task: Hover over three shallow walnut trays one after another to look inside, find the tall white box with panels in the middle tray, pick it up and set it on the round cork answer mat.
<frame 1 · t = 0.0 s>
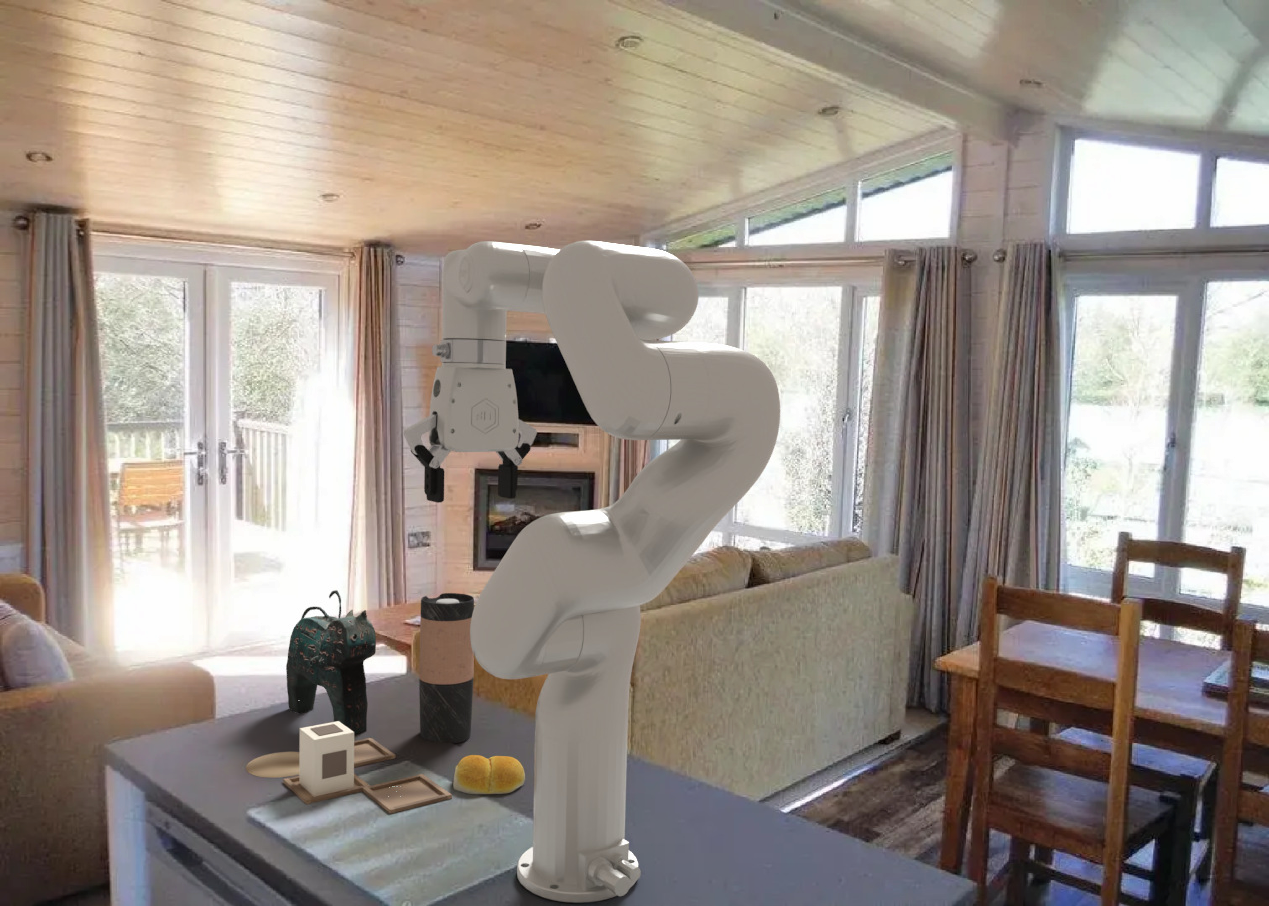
hand: (471, 499, 123), 37 cm above the kitchen counter, tool pointing down, fingers open, 9 cm apart
bread roll: (487, 788, 130), on the kitchen counter
answer mat: (282, 767, 134), on the kitchen counter
travel mug: (445, 737, 147), on the kitchen counter
tray a: (406, 797, 125), on the kitchen counter
tray b: (326, 788, 127), on the kitchen counter
white box with panels: (326, 785, 127), resting on tray b
tray c: (354, 757, 138), on the kitchen counter
ceramic cat: (324, 724, 151), on the kitchen counter
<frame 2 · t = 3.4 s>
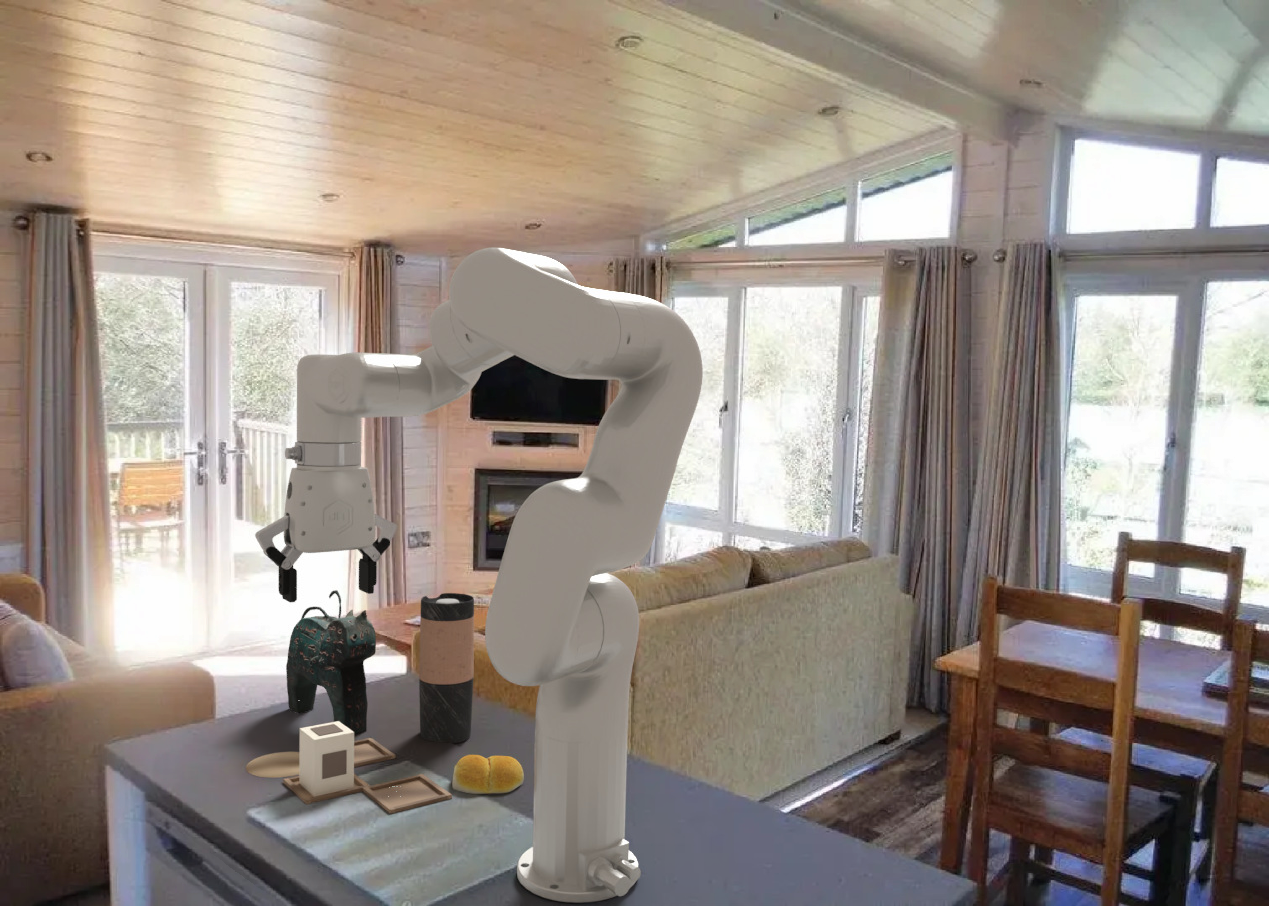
hand: (328, 595, 126), 24 cm above the kitchen counter, tool pointing down, fingers open, 9 cm apart
nothing on the kitchen counter moved.
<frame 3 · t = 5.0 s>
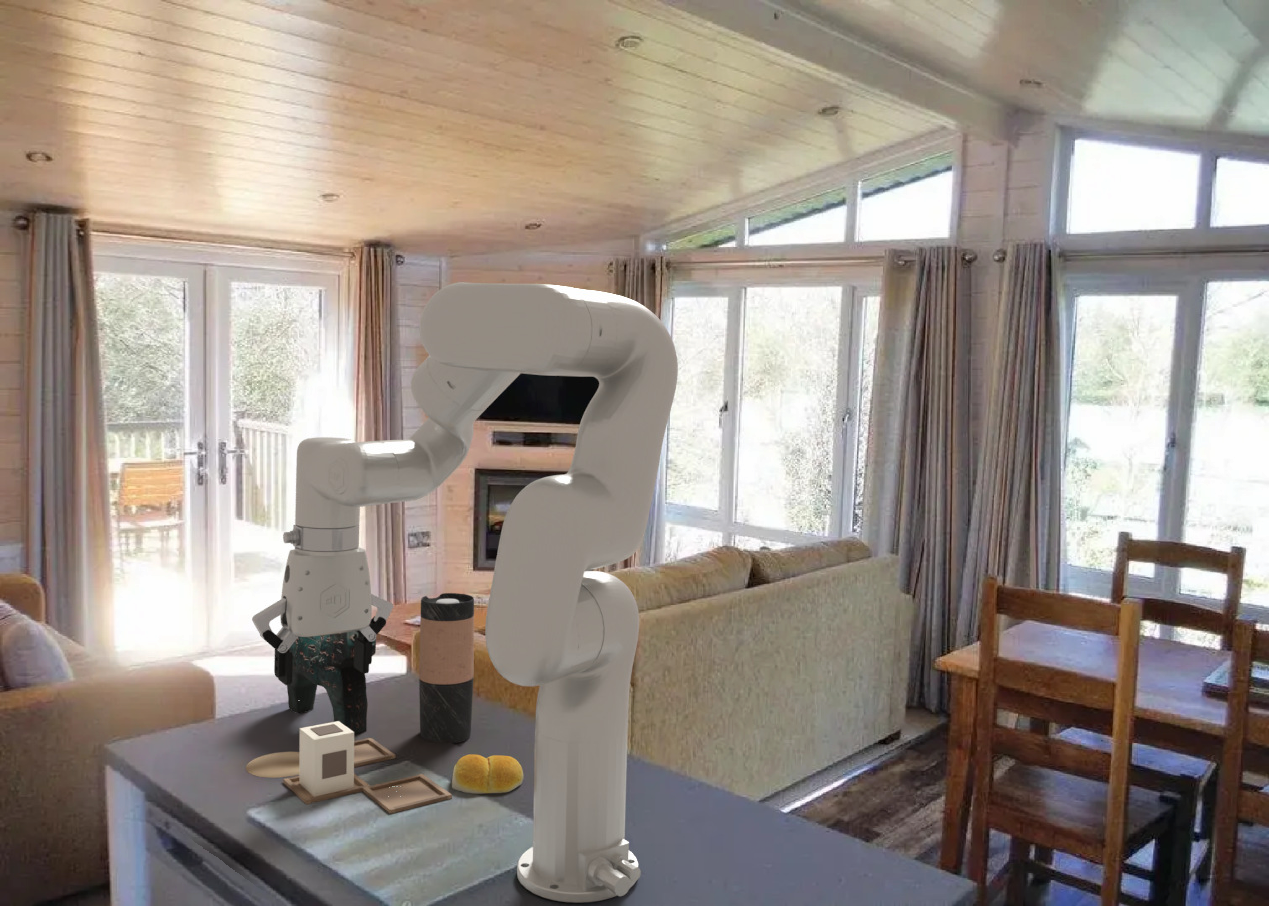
hand: (323, 676, 126), 14 cm above the kitchen counter, tool pointing down, fingers open, 9 cm apart
nothing on the kitchen counter moved.
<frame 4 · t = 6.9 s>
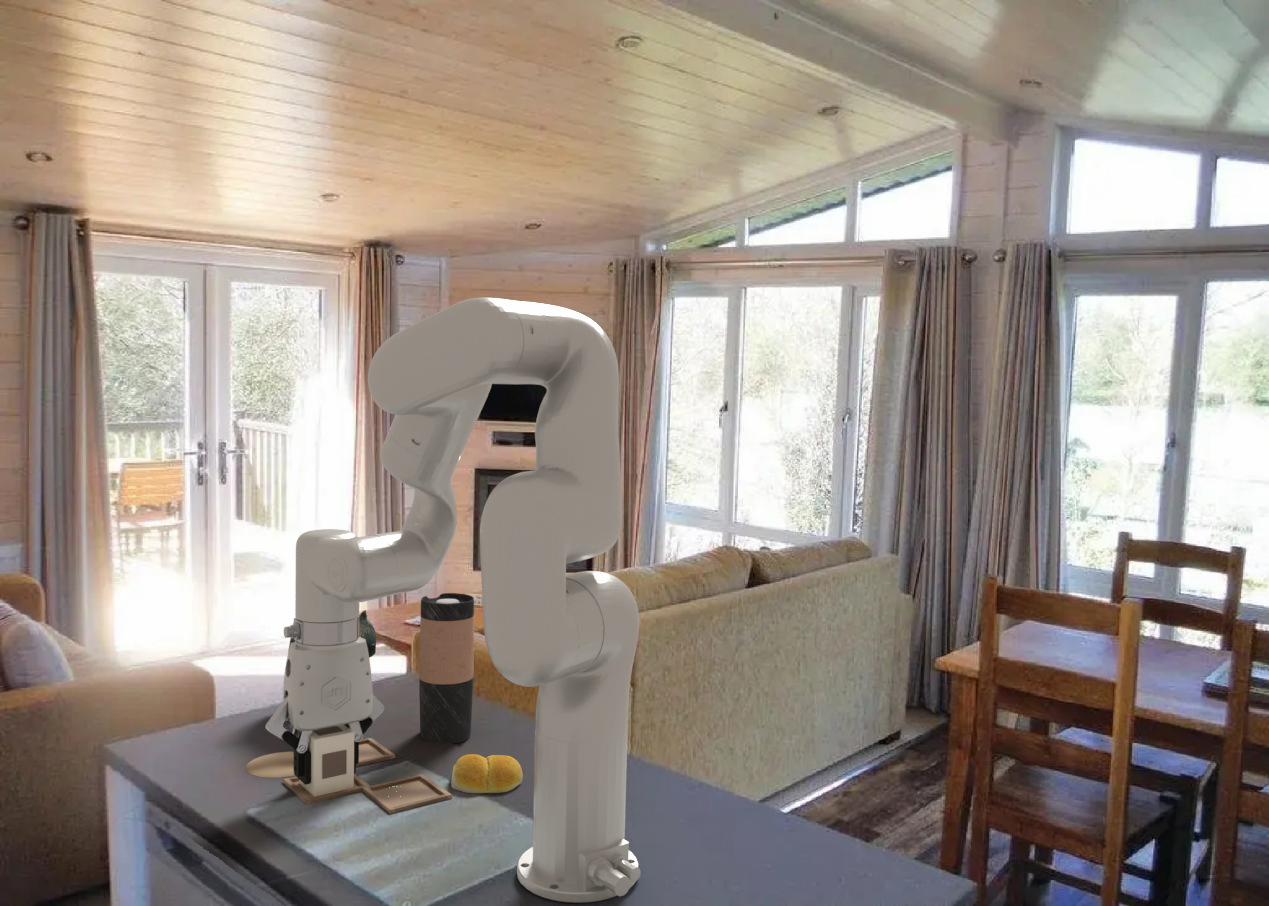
hand: (326, 774, 127), 2 cm above the kitchen counter, tool pointing down, fingers closed on white box with panels, 5 cm apart
white box with panels: (326, 785, 127), resting on tray b, touching gripper
everything else where it was.
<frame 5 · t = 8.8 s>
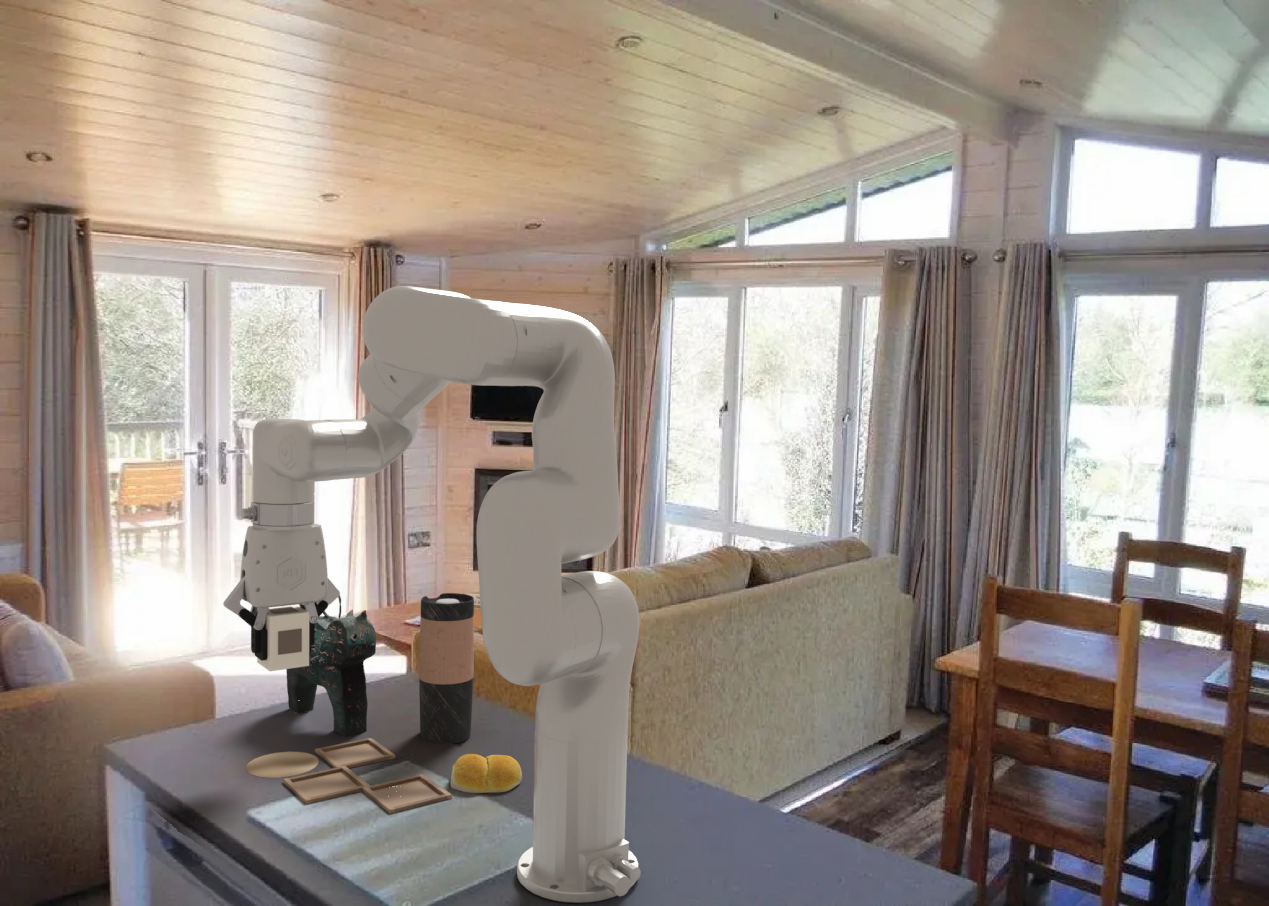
hand: (283, 653, 133), 15 cm above the kitchen counter, tool pointing down, fingers closed on white box with panels, 5 cm apart
white box with panels: (283, 664, 133), point 14 cm above the kitchen counter, touching gripper
everything else where it was.
when the fingers open (3 cm above the kitchen counter, at t = 11.2 s): white box with panels drops 2 cm, resting on answer mat.
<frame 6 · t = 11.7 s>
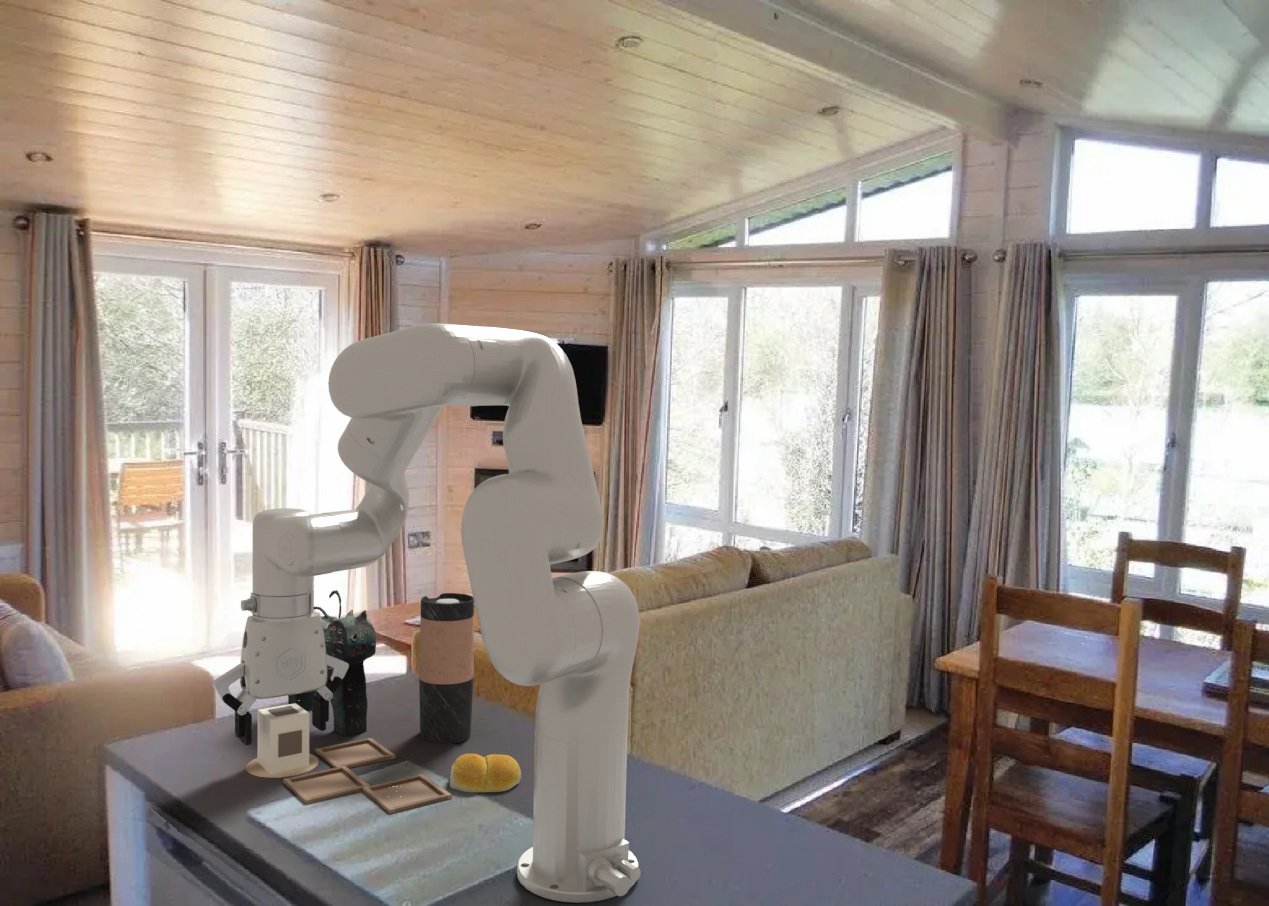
hand: (282, 734, 133), 4 cm above the kitchen counter, tool pointing down, fingers open, 9 cm apart
white box with panels: (283, 764, 134), resting on answer mat
everything else where it was.
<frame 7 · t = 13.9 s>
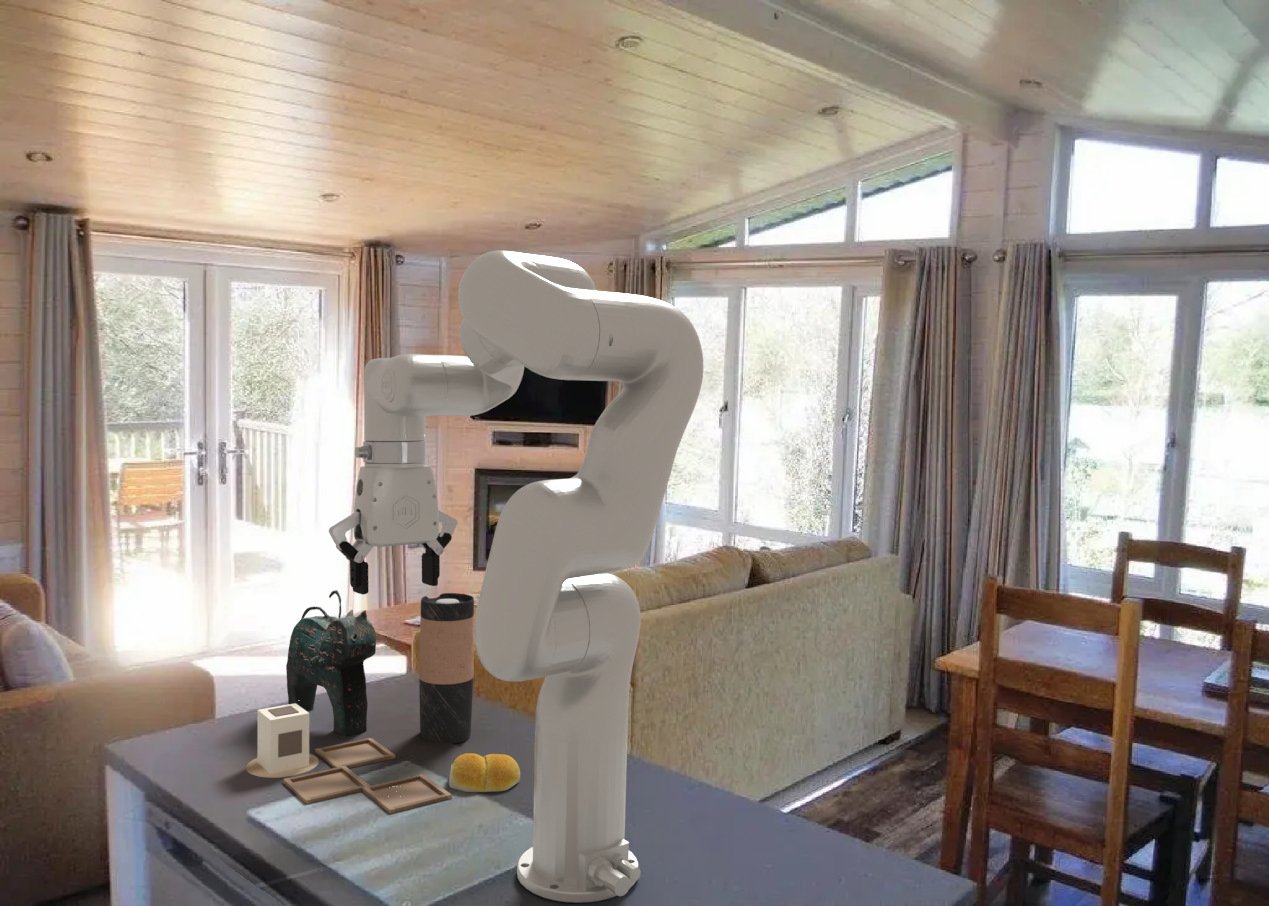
hand: (395, 588, 131), 24 cm above the kitchen counter, tool pointing down, fingers open, 9 cm apart
nothing on the kitchen counter moved.
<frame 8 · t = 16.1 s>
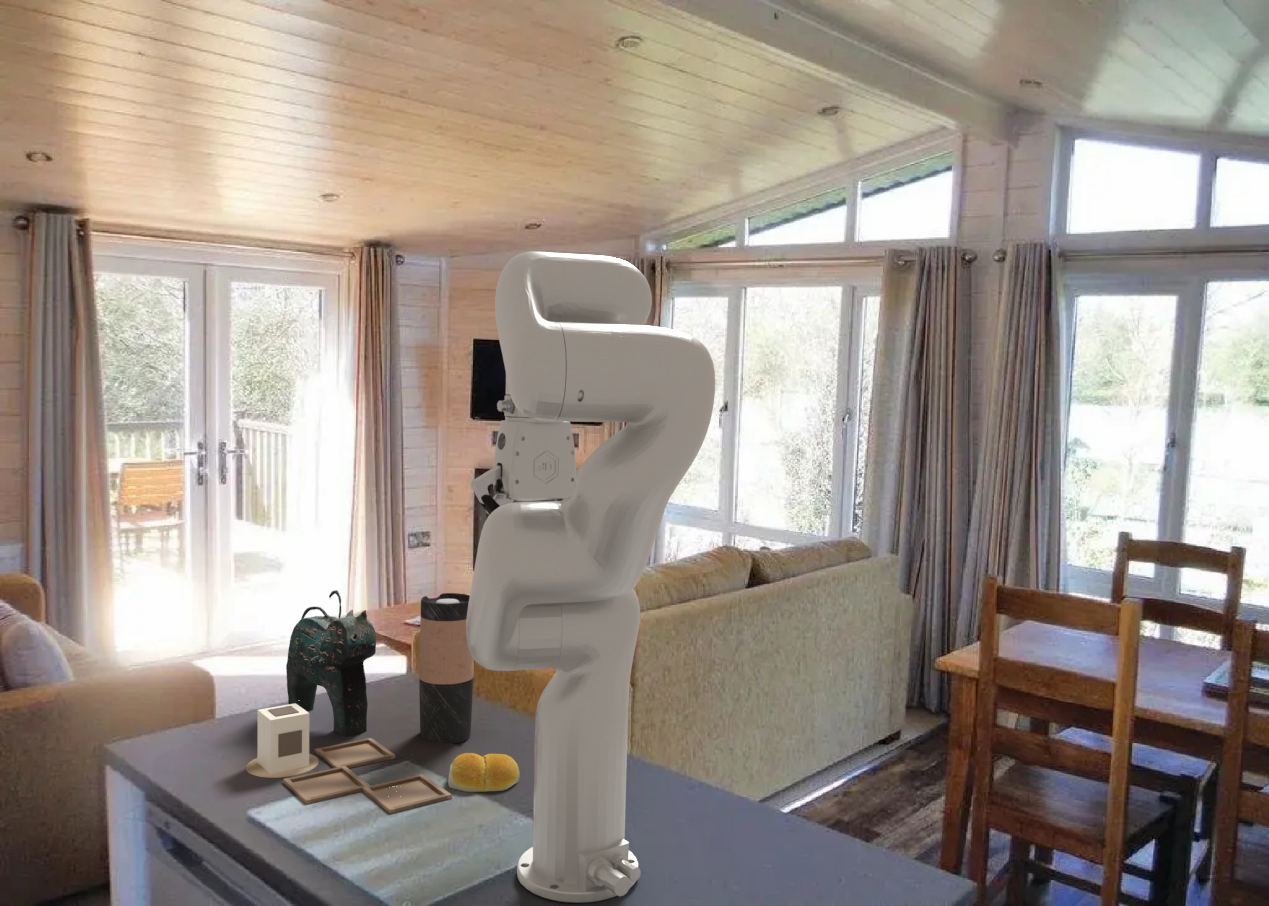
hand: (532, 543, 131), 30 cm above the kitchen counter, tool pointing down, fingers open, 9 cm apart
at the end: white box with panels inside the target area on the answer mat (0.1 cm from its centre), point 0.4 cm above the answer mat's base; white box with panels tilted 0°; the gripper is holding nothing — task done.
